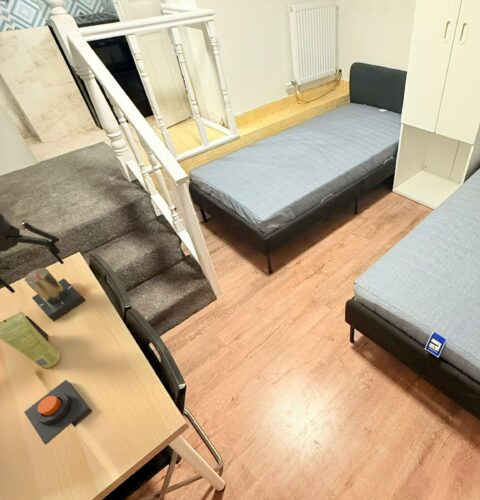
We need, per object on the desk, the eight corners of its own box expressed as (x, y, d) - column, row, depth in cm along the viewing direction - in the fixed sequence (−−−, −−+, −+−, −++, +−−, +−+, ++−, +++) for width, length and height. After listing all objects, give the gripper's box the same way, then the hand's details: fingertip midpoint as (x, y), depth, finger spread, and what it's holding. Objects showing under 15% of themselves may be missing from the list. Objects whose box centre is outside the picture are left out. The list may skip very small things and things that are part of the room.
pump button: (39, 409, 80) (34, 405, 79) (57, 395, 83) (52, 392, 81) (47, 419, 79) (41, 416, 77) (64, 405, 81) (59, 402, 79)
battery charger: (34, 339, 98) (8, 317, 90) (49, 334, 99) (24, 312, 91) (32, 359, 94) (4, 338, 86) (47, 353, 95) (21, 331, 87)
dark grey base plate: (29, 414, 83) (18, 408, 80) (70, 382, 88) (61, 376, 86) (50, 447, 78) (39, 441, 75) (92, 410, 83) (83, 404, 80)
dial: (42, 297, 106) (20, 276, 98) (61, 285, 109) (42, 264, 102) (50, 306, 103) (28, 285, 96) (70, 294, 106) (50, 272, 99)
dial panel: (37, 303, 108) (30, 297, 106) (69, 283, 114) (63, 277, 111) (53, 322, 102) (47, 316, 100) (86, 300, 108) (81, 294, 106)
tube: (49, 349, 96) (2, 309, 82) (66, 350, 95) (21, 310, 82) (36, 368, 92) (-16, 329, 78) (53, 369, 91) (3, 330, 78)
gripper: (-74, 255, 76) (-6, 310, 91) (42, 200, 89) (85, 255, 104) (-83, 242, 79) (-16, 297, 94) (31, 191, 93) (73, 246, 108)
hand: (37, 275), depth 99 cm, fingers open, 13 cm apart
